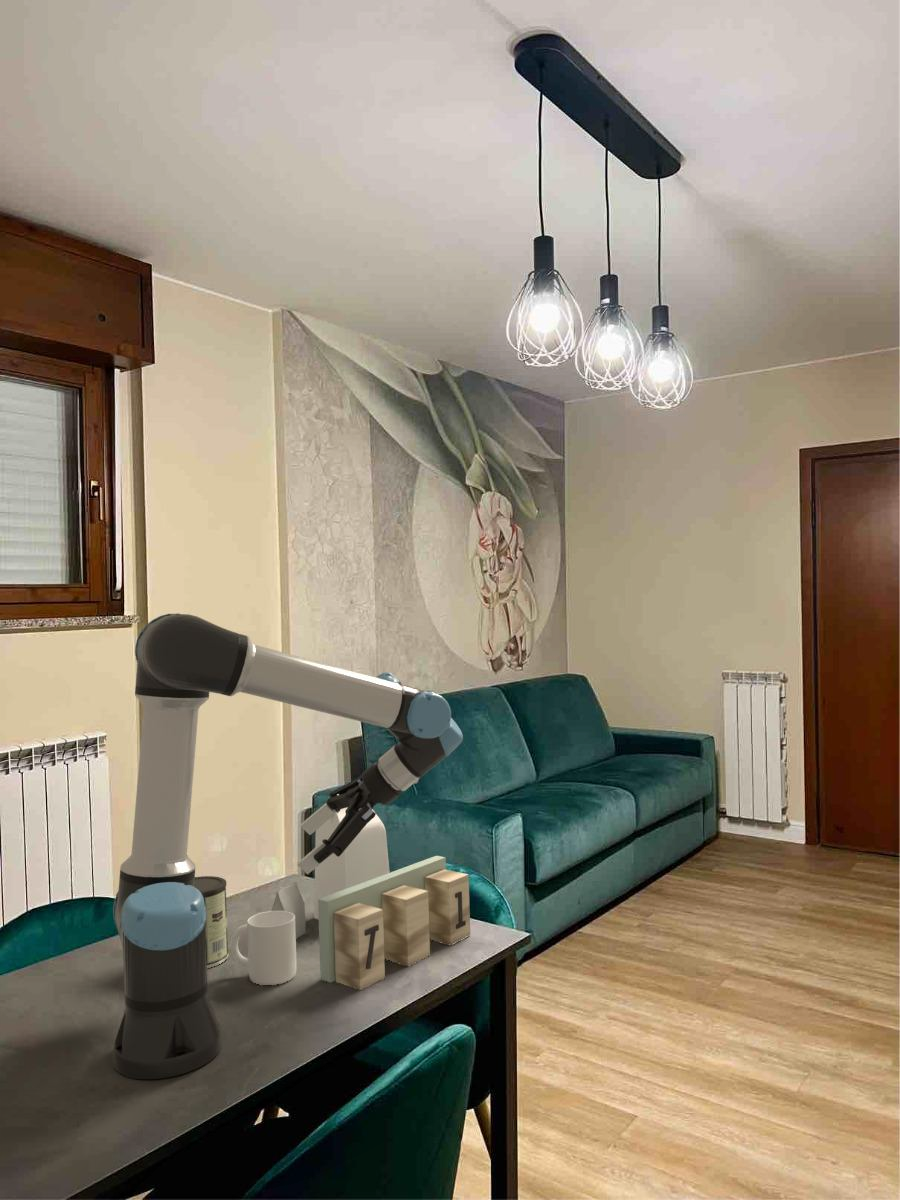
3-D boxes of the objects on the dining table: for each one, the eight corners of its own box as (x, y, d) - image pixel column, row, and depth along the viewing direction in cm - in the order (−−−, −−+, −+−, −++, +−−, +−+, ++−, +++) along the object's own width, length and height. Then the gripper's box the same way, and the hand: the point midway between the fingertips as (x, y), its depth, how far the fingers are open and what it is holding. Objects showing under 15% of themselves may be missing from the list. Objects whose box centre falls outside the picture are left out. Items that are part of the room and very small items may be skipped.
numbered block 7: (386, 978, 157) (383, 909, 157) (361, 990, 153) (359, 919, 153) (360, 970, 161) (358, 902, 161) (335, 981, 157) (333, 912, 157)
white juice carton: (305, 932, 181) (303, 882, 181) (287, 945, 174) (285, 893, 174) (289, 930, 182) (287, 881, 182) (271, 943, 176) (269, 891, 176)
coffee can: (184, 949, 174) (182, 875, 174) (236, 949, 173) (234, 875, 173) (161, 971, 164) (159, 893, 164) (217, 971, 163) (214, 893, 163)
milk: (346, 931, 180) (342, 801, 180) (314, 918, 189) (310, 793, 189) (393, 916, 188) (389, 791, 188) (360, 903, 197) (356, 784, 197)
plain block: (430, 956, 167) (428, 890, 167) (408, 966, 162) (406, 899, 162) (405, 948, 170) (403, 885, 170) (383, 959, 166) (381, 893, 166)
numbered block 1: (471, 936, 176) (469, 874, 176) (451, 946, 171) (450, 882, 171) (446, 929, 180) (444, 869, 180) (426, 939, 175) (425, 877, 175)
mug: (221, 984, 157) (219, 924, 157) (242, 965, 165) (240, 908, 165) (285, 988, 155) (283, 928, 155) (303, 968, 163) (302, 911, 163)
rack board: (447, 927, 181) (445, 857, 181) (330, 982, 156) (327, 901, 156) (438, 925, 182) (436, 855, 182) (320, 979, 158) (318, 899, 158)
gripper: (408, 824, 155) (315, 900, 157) (399, 760, 179) (319, 827, 181) (379, 795, 153) (286, 873, 155) (373, 735, 177) (293, 802, 179)
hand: (303, 848), depth 168 cm, fingers open, 13 cm apart
